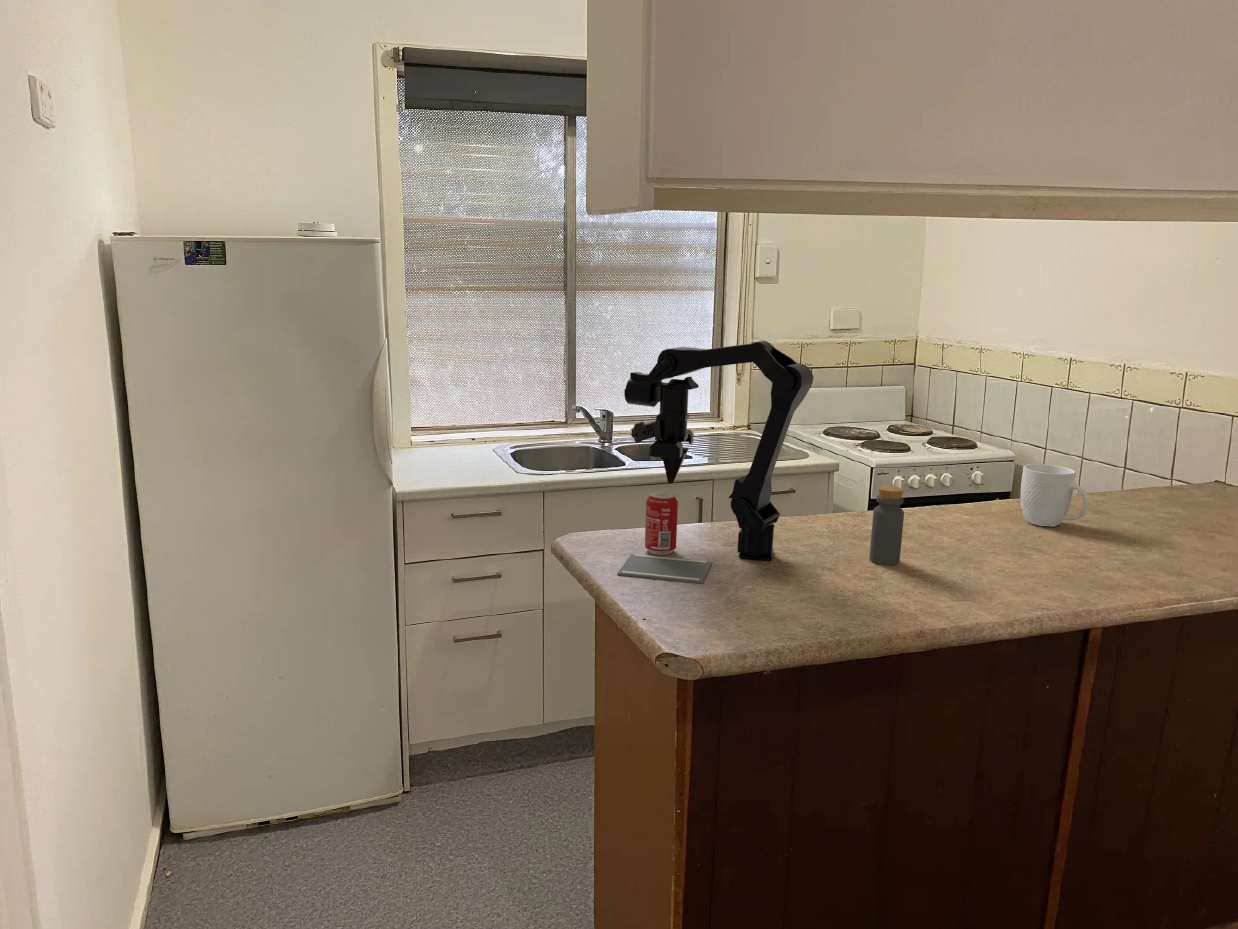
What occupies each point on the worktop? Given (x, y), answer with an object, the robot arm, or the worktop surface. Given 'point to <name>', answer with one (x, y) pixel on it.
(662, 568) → the mat
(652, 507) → the beverage can
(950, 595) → the worktop surface
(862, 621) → the worktop surface
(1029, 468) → the mug
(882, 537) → the bottle
